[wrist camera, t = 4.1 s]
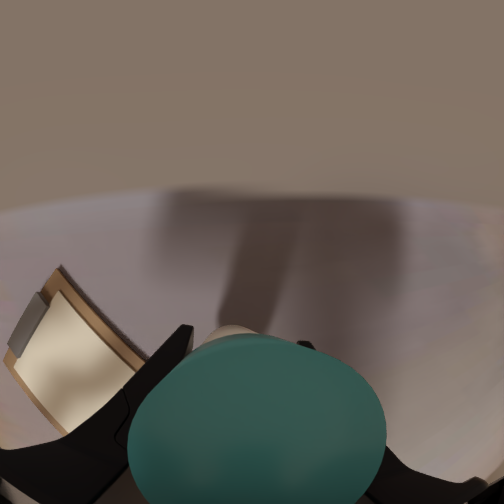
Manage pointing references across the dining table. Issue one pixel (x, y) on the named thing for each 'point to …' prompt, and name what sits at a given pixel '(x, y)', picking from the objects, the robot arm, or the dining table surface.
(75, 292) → the clipboard
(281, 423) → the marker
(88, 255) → the dining table surface
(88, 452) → the robot arm
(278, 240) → the dining table surface
